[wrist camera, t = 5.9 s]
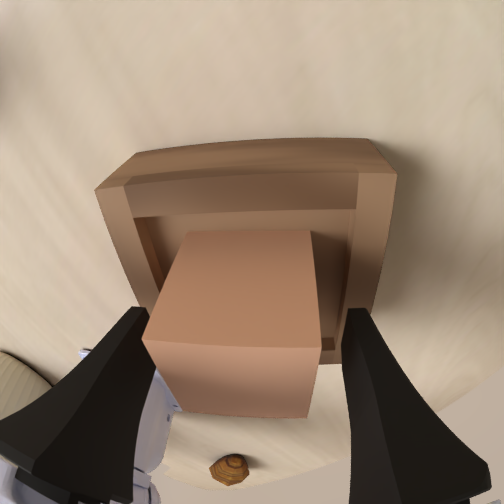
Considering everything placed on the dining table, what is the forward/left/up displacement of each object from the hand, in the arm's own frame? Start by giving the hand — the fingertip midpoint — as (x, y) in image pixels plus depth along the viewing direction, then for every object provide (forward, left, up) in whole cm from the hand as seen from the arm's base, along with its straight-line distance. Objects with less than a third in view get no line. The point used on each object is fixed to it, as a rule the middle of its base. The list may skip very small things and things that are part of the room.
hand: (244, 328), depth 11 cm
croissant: (-44, +8, -6) cm, 45 cm away
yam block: (0, 0, -2) cm, 2 cm away
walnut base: (0, 0, -5) cm, 5 cm away
